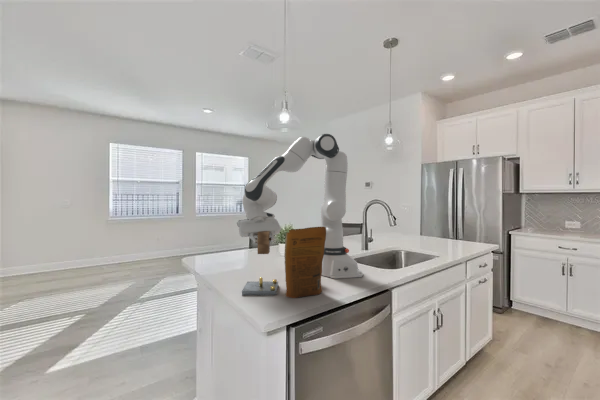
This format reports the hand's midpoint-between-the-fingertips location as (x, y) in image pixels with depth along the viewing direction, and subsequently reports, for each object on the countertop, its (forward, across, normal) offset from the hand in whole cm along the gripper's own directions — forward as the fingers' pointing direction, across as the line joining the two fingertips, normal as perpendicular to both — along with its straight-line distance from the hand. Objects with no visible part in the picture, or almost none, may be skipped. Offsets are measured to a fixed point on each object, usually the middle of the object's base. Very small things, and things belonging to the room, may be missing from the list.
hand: (264, 241), depth 128 cm
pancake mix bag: (+30, +9, -2) cm, 31 cm away
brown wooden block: (+3, 0, +4) cm, 5 cm away
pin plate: (+20, -5, +8) cm, 22 cm away
